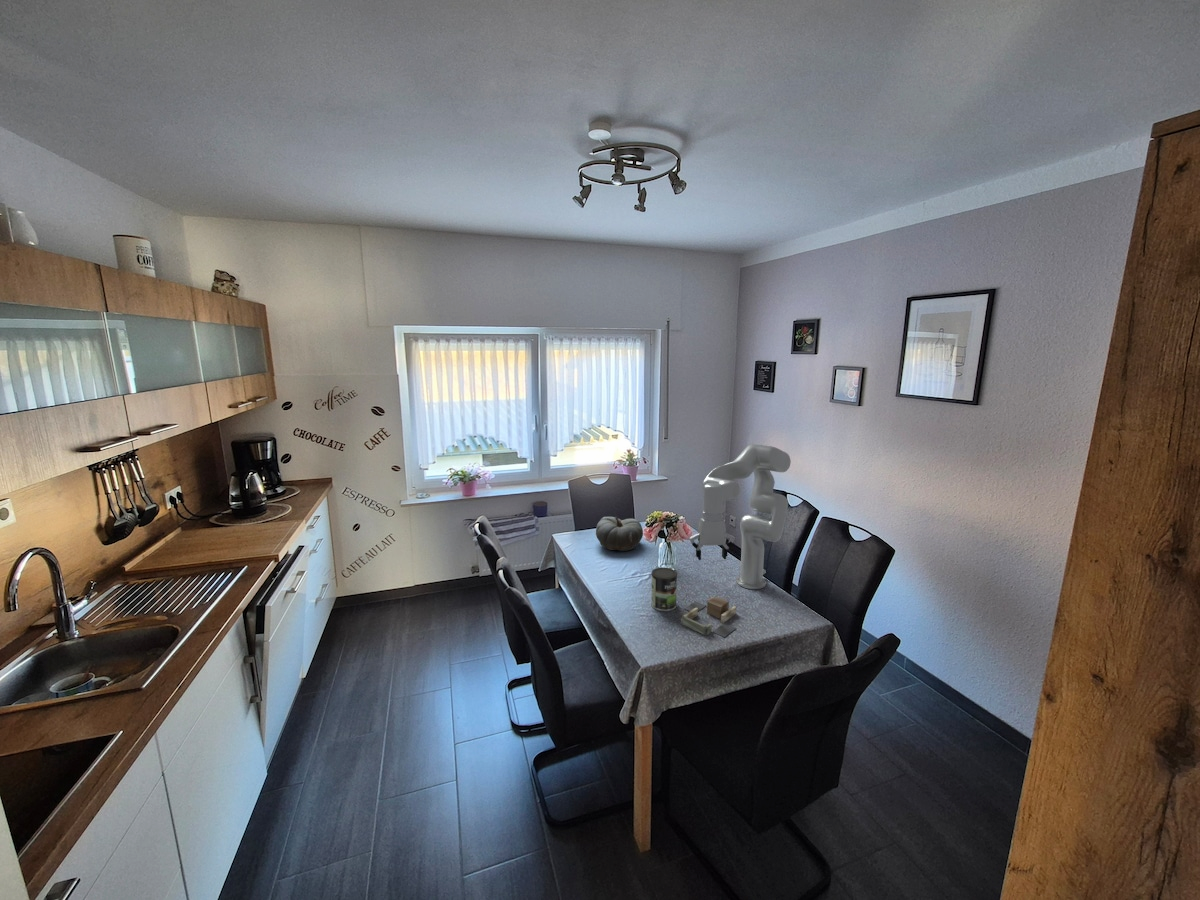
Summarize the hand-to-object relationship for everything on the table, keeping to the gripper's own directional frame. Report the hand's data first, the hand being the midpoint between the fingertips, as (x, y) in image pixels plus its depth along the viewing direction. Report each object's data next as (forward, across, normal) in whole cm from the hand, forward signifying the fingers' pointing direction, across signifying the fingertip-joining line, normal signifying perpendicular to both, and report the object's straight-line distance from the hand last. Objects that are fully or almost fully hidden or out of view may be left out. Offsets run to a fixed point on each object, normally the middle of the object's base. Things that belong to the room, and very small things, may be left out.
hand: (711, 558), depth 183 cm
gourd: (+24, +30, -70) cm, 80 cm away
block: (+24, -3, -1) cm, 24 cm away
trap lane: (+24, +1, +3) cm, 24 cm away
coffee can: (+24, +17, -8) cm, 30 cm away
